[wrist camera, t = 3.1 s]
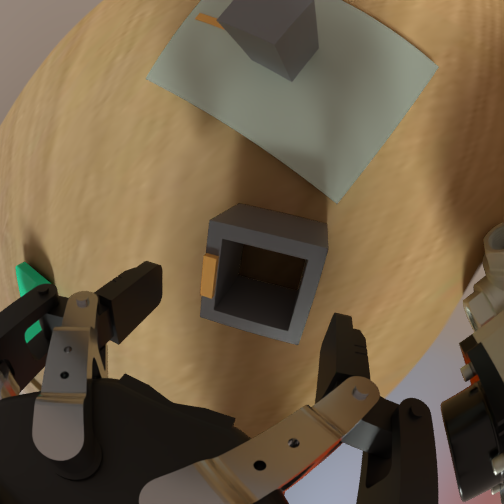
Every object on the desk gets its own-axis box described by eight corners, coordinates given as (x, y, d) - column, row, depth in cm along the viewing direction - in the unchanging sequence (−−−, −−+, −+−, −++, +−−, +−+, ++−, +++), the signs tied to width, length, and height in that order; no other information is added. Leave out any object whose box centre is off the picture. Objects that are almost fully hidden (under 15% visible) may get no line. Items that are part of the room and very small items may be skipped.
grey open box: (327, 223, 17) (328, 251, 12) (305, 302, 19) (297, 349, 14) (238, 203, 18) (206, 221, 13) (227, 281, 20) (197, 320, 16)
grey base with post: (433, 71, 12) (481, 36, 5) (336, 201, 16) (344, 229, 10) (240, -31, 11) (207, -81, 5) (152, 81, 16) (87, 63, 10)
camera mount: (28, 256, 28) (-26, 285, 19) (57, 279, 27) (-3, 317, 18) (38, 319, 33) (-3, 350, 23) (67, 344, 32) (23, 382, 23)
